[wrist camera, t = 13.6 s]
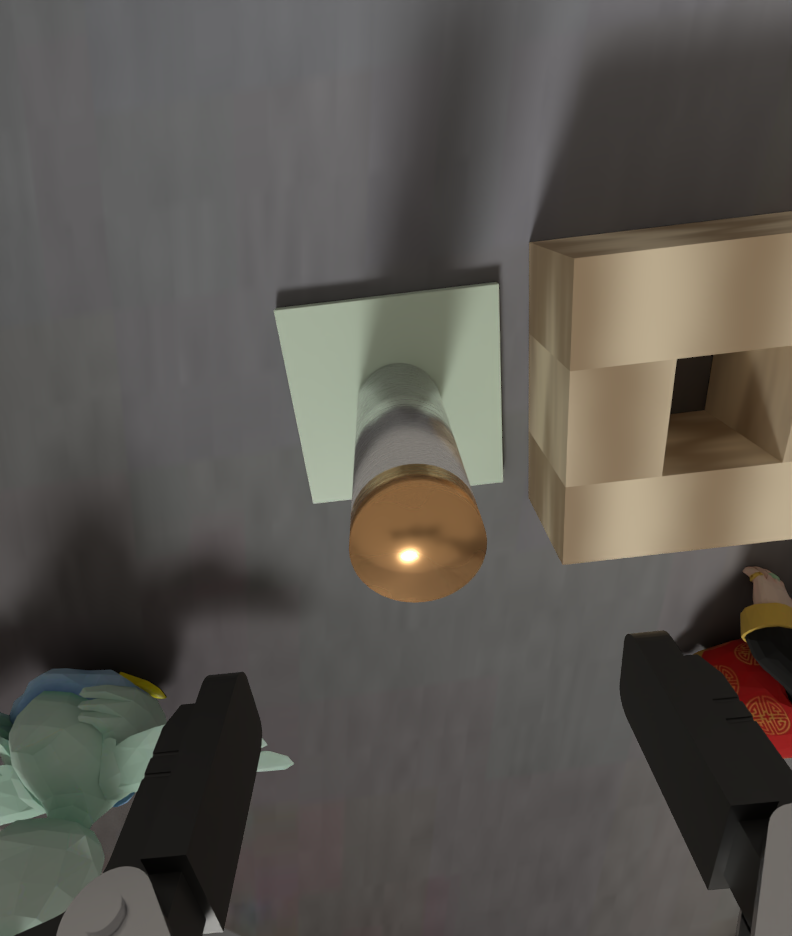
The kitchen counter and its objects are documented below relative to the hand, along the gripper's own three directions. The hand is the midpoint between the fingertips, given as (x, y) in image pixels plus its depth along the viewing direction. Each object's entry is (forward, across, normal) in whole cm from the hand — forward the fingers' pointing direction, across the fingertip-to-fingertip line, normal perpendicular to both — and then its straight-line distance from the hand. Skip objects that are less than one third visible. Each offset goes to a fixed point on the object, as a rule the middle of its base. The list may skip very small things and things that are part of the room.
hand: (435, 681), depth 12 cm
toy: (+18, +20, +18) cm, 32 cm away
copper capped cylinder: (+17, 0, 0) cm, 17 cm away
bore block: (+18, -13, 0) cm, 22 cm away
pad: (+17, 0, 0) cm, 17 cm away
